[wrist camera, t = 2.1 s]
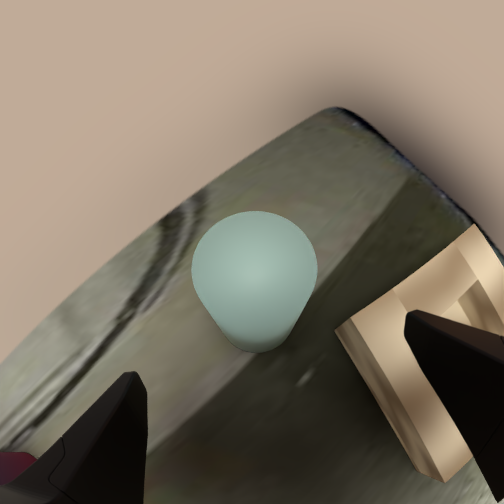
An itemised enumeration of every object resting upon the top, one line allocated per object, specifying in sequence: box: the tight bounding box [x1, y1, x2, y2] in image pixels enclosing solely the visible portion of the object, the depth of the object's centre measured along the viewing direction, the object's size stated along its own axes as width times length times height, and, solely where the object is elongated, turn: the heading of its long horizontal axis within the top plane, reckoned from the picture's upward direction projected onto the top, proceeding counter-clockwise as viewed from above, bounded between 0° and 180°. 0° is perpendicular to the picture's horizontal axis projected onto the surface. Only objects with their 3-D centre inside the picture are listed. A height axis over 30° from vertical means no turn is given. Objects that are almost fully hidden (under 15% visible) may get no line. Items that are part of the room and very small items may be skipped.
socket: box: [334, 224, 504, 483], centre depth 16 cm, size 13×13×4 cm
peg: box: [192, 211, 317, 353], centre depth 16 cm, size 5×5×9 cm
